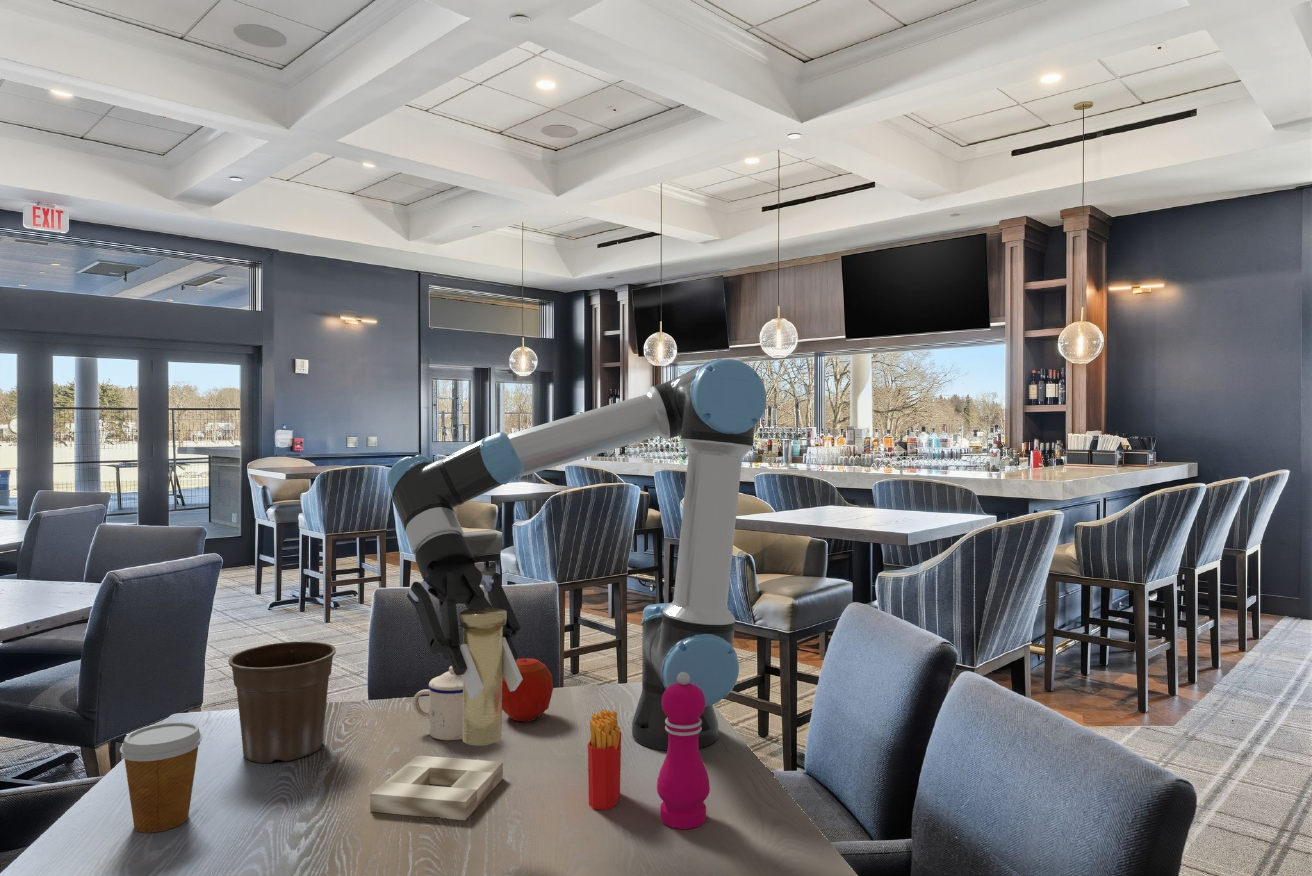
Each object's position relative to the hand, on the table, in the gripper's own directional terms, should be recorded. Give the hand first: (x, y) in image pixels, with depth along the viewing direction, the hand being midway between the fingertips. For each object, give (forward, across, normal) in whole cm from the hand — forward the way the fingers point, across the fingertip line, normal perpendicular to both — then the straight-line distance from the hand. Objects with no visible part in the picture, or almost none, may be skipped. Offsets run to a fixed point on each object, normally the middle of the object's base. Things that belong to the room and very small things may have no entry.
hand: (497, 689), depth 104 cm
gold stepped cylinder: (+3, 0, -8) cm, 8 cm away
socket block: (+1, -1, -27) cm, 27 cm away
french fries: (+13, -19, -15) cm, 27 cm away
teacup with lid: (-15, -14, -43) cm, 48 cm away
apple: (-13, -28, -42) cm, 52 cm away
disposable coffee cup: (-10, +31, -39) cm, 51 cm away
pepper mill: (+21, -23, -7) cm, 32 cm away
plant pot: (-22, +11, -50) cm, 56 cm away
